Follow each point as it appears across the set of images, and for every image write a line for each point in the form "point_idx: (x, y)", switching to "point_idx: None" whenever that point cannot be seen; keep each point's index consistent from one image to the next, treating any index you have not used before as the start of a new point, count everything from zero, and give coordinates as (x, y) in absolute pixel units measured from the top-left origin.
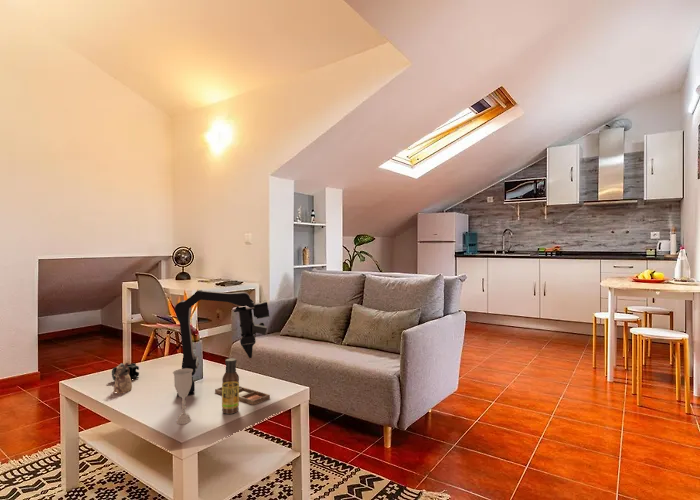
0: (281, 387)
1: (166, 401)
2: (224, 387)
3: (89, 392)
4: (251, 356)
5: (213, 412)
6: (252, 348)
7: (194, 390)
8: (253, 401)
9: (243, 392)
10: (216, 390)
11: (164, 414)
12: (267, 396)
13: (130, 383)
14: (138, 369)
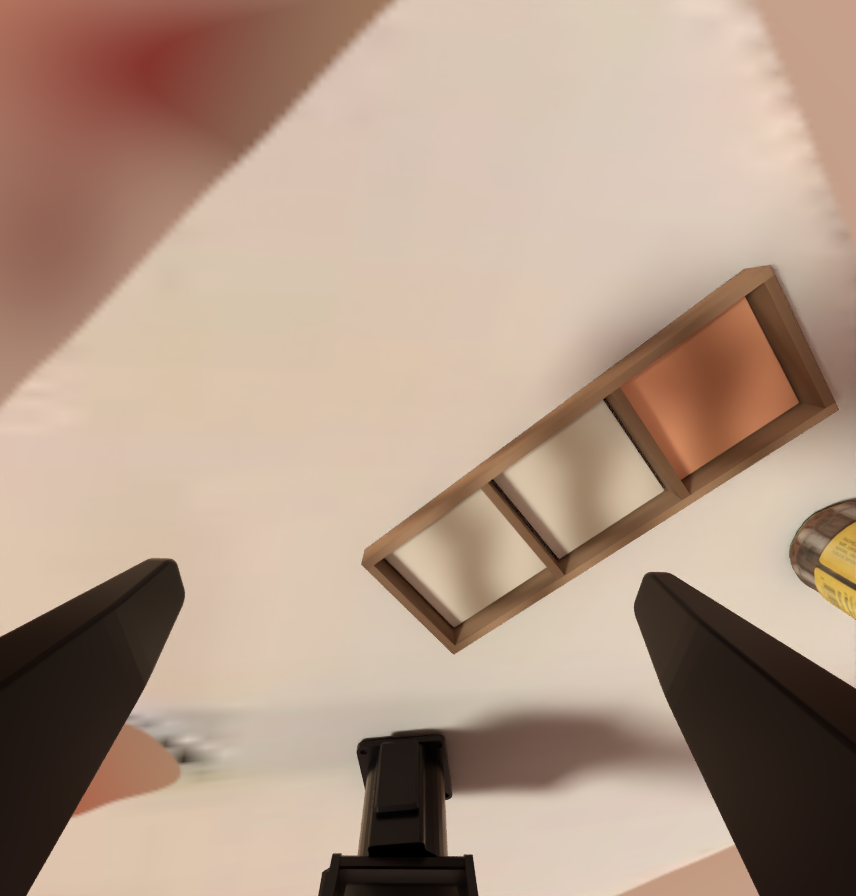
0: (498, 123)
1: (504, 817)
2: None
3: None
4: (696, 597)
5: (787, 623)
6: (93, 622)
7: (416, 745)
8: (837, 409)
9: (530, 472)
10: (465, 642)
11: (681, 801)
12: (775, 290)
13: None
14: None
